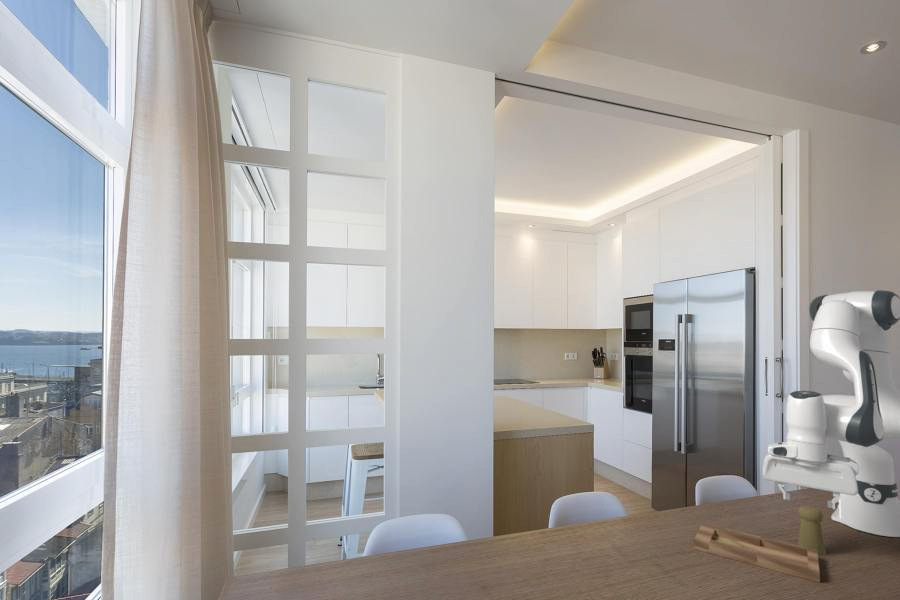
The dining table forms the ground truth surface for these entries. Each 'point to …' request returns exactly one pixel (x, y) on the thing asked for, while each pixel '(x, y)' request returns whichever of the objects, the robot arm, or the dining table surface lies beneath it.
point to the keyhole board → (759, 551)
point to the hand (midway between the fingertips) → (808, 504)
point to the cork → (811, 529)
